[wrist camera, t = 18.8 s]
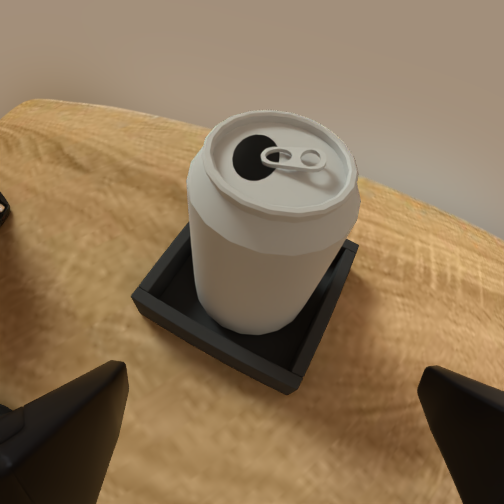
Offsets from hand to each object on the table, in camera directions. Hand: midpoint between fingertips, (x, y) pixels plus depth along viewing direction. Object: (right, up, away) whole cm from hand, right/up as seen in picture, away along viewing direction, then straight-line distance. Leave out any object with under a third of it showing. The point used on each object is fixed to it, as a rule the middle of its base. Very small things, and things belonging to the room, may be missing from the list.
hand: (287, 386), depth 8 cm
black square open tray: (-1, +1, +14) cm, 14 cm away
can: (-1, +1, +14) cm, 14 cm away
